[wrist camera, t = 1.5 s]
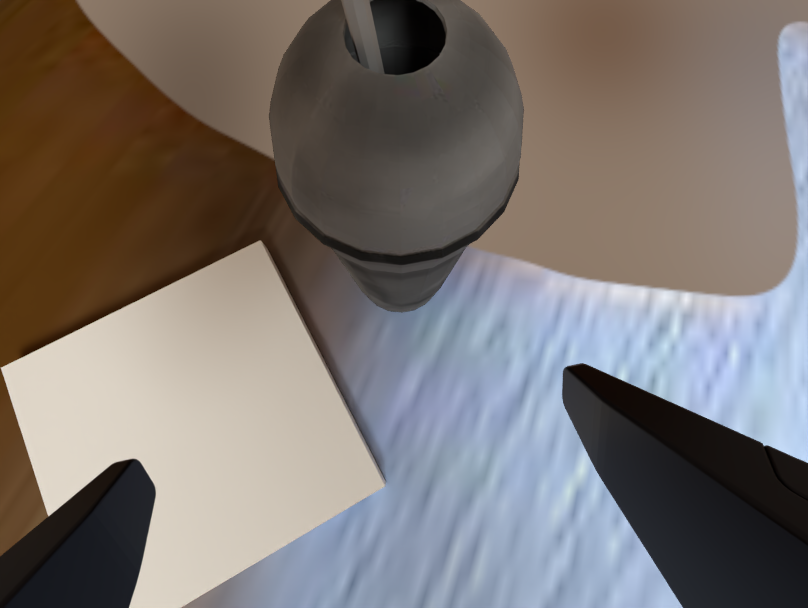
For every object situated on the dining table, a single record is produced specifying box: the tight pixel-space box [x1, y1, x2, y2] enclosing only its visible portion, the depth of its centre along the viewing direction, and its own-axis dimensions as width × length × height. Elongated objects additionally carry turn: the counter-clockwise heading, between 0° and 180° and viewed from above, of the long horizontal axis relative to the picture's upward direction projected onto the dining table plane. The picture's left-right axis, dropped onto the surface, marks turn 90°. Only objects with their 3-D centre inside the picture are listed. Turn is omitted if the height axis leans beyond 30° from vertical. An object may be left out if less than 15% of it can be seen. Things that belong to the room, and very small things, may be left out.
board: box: [1, 240, 386, 608], centre depth 21 cm, size 14×14×1 cm
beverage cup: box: [269, 0, 524, 312], centre depth 14 cm, size 7×7×20 cm
